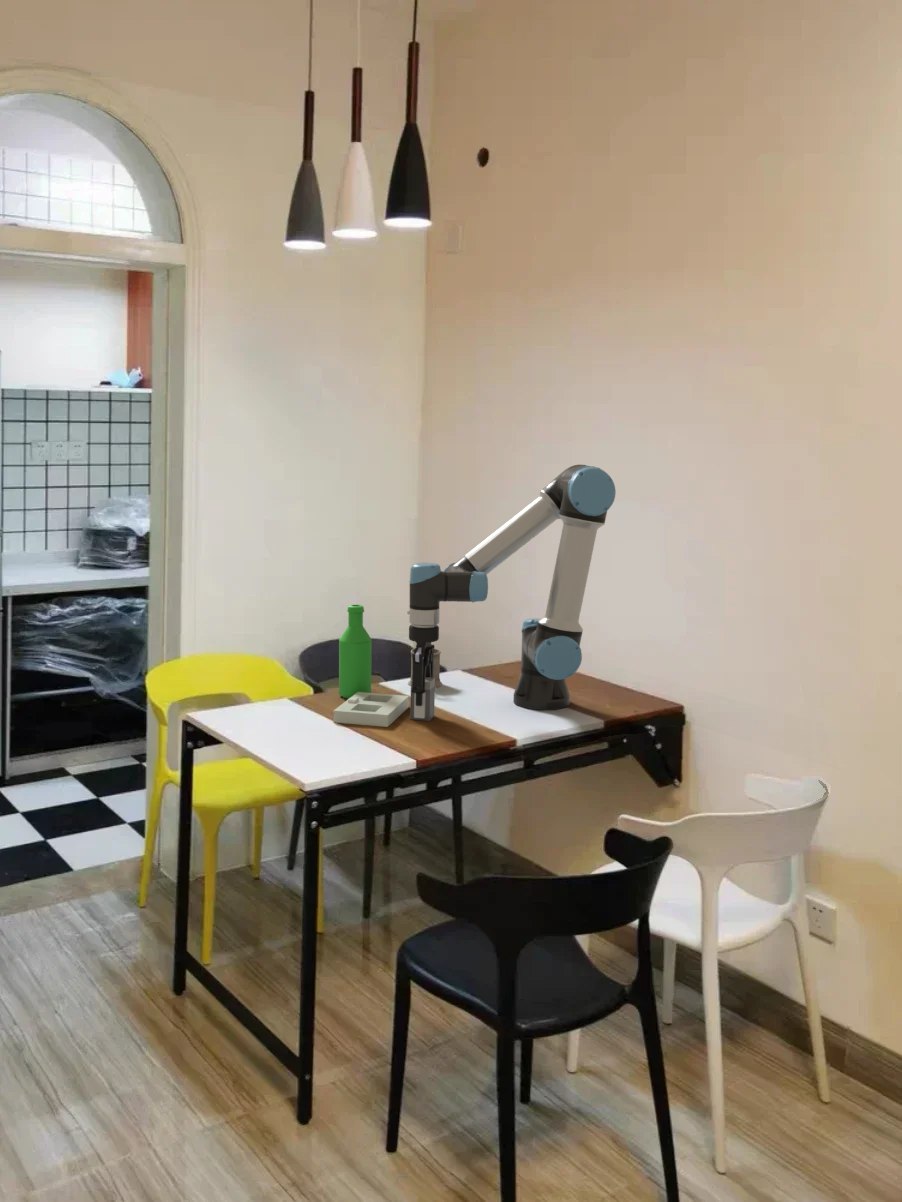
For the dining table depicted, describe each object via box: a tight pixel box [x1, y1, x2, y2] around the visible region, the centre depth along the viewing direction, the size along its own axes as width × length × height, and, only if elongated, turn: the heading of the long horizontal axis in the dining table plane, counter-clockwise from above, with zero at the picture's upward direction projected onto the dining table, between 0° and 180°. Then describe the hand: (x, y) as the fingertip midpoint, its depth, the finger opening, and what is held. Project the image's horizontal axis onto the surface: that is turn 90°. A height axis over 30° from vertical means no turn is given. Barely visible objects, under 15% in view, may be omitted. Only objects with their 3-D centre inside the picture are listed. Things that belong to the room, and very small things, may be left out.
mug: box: [407, 648, 443, 689], centre depth 320 cm, size 14×10×12 cm
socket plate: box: [333, 692, 410, 728], centre depth 289 cm, size 14×20×4 cm
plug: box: [409, 677, 436, 722], centre depth 287 cm, size 5×5×10 cm
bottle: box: [338, 604, 373, 700], centre depth 306 cm, size 9×9×25 cm
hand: (422, 714), depth 287 cm, fingers closed on plug, 5 cm apart
